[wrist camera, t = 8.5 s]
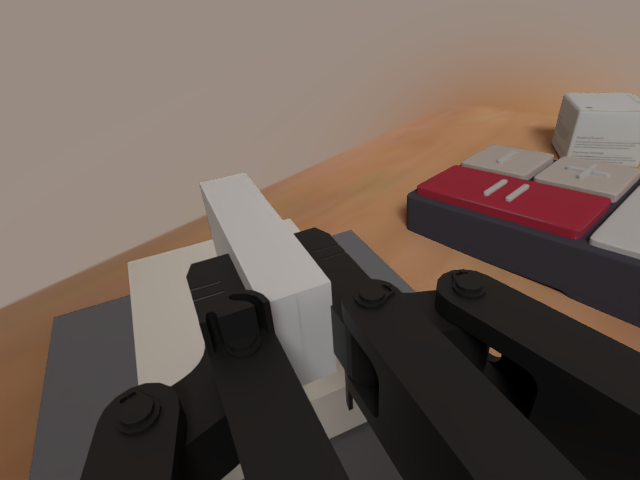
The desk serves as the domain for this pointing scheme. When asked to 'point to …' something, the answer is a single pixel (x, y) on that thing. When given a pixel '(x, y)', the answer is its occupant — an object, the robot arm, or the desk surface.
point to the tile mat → (121, 374)
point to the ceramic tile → (187, 340)
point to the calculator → (541, 222)
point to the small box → (599, 128)
